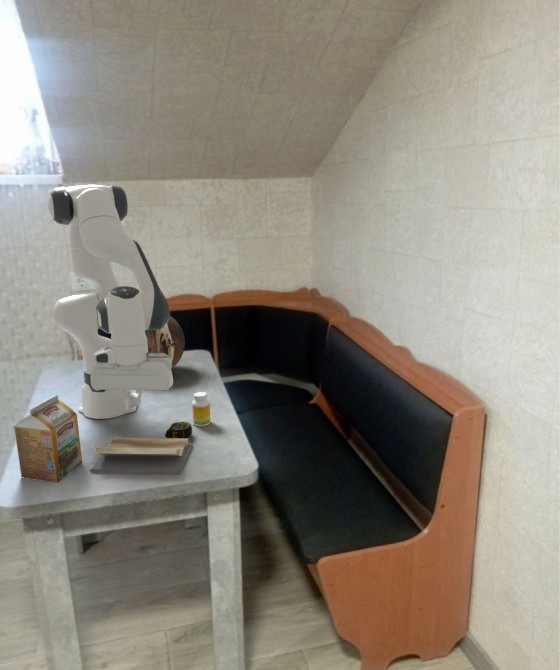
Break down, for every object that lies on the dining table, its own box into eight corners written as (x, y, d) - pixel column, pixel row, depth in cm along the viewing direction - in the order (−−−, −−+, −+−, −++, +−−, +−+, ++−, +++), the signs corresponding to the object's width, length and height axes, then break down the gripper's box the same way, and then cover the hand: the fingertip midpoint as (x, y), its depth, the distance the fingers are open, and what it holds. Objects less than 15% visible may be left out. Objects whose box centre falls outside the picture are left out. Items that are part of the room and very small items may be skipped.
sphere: (189, 381, 215) (185, 315, 209) (119, 387, 210) (113, 320, 203) (184, 361, 239) (180, 302, 232) (121, 367, 233) (116, 306, 227)
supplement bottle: (190, 422, 178) (188, 392, 176) (207, 418, 180) (205, 389, 178) (196, 428, 173) (194, 398, 171) (213, 424, 176) (211, 395, 173)
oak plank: (115, 442, 162) (114, 437, 162) (188, 443, 161) (188, 438, 161) (106, 453, 156) (105, 448, 155) (182, 454, 154) (182, 449, 154)
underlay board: (112, 445, 163) (111, 442, 163) (192, 446, 161) (192, 443, 161) (90, 472, 148) (90, 469, 147) (179, 474, 146) (179, 470, 146)
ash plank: (104, 454, 154) (105, 449, 155) (181, 455, 153) (182, 450, 153) (94, 453, 148) (95, 447, 148) (175, 454, 146) (176, 448, 147)
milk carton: (57, 482, 143) (48, 411, 138) (21, 477, 146) (11, 407, 141) (82, 463, 153) (74, 396, 148) (48, 458, 156) (39, 392, 151)
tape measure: (173, 431, 172) (172, 420, 171) (195, 433, 170) (194, 421, 169) (165, 441, 165) (164, 429, 164) (188, 443, 164) (187, 431, 163)
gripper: (174, 349, 145) (177, 400, 149) (94, 349, 146) (100, 400, 150) (168, 356, 139) (171, 410, 143) (85, 356, 140) (91, 409, 144)
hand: (134, 405), depth 146 cm, fingers closed
